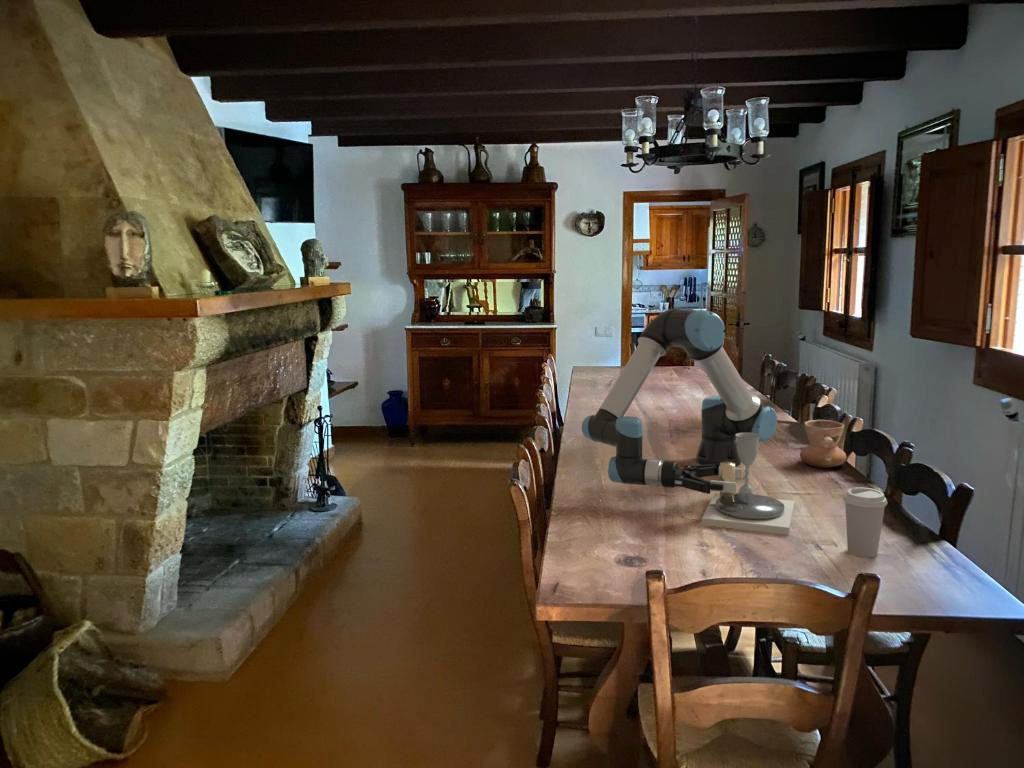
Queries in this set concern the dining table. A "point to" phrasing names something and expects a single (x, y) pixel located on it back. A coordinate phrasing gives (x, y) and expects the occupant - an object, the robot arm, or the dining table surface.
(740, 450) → the chalice
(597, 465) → the dining table surface
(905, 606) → the dining table surface
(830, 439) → the ceramic jug
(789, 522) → the dial board
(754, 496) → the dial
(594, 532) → the dining table surface
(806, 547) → the dining table surface
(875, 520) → the coffee cup
